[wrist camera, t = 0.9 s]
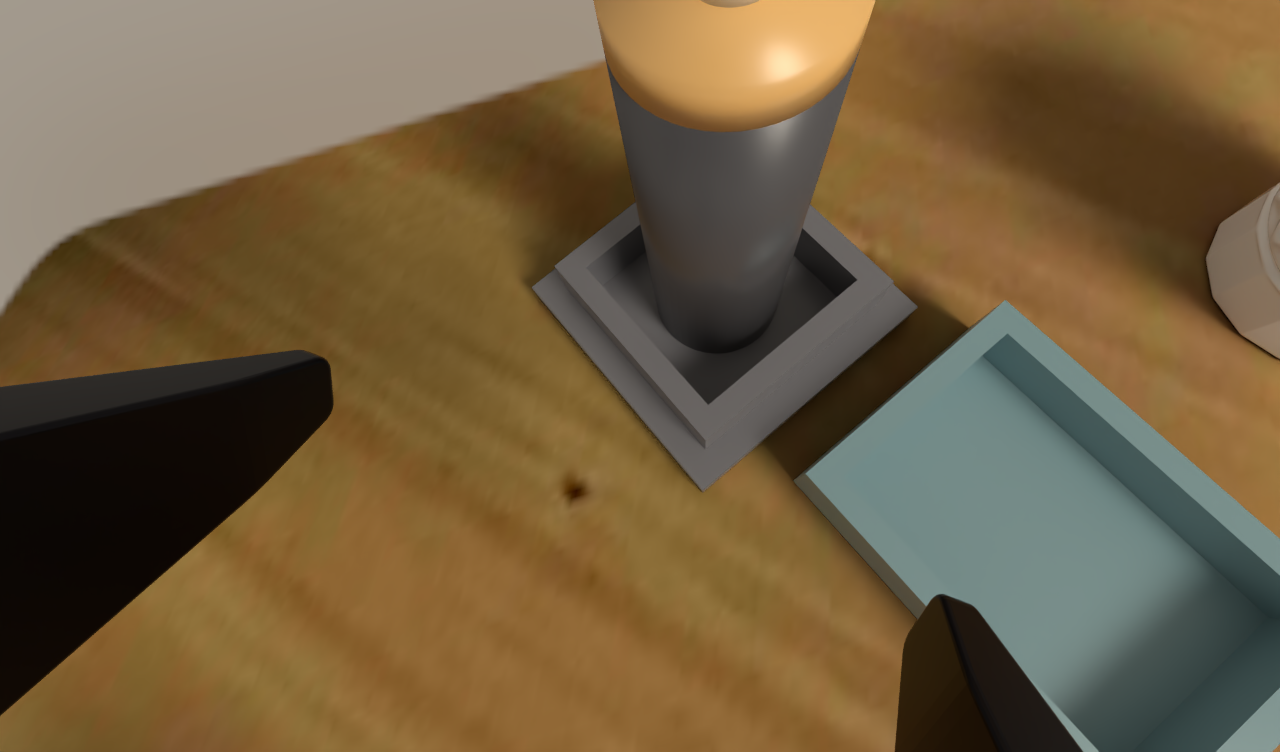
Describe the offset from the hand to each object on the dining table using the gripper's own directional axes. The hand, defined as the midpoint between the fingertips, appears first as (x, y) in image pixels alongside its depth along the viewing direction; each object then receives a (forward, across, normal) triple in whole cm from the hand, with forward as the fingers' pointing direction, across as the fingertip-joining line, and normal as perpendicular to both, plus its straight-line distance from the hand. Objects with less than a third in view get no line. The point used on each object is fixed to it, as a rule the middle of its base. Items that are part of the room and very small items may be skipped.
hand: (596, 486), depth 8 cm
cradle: (+15, +1, +3) cm, 15 cm away
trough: (+12, -12, +6) cm, 18 cm away
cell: (+14, +1, +2) cm, 14 cm away
